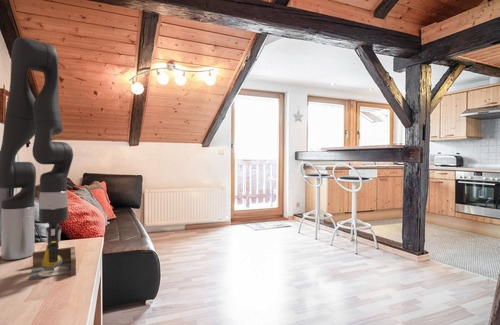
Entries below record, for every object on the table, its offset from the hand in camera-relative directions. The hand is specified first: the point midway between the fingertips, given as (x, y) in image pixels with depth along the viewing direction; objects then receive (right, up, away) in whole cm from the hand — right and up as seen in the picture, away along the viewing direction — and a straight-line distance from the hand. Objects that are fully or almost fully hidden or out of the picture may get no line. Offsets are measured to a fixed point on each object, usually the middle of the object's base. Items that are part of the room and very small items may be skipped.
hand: (53, 257), depth 94 cm
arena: (-1, -5, +1) cm, 5 cm away
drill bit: (0, -4, 0) cm, 4 cm away
